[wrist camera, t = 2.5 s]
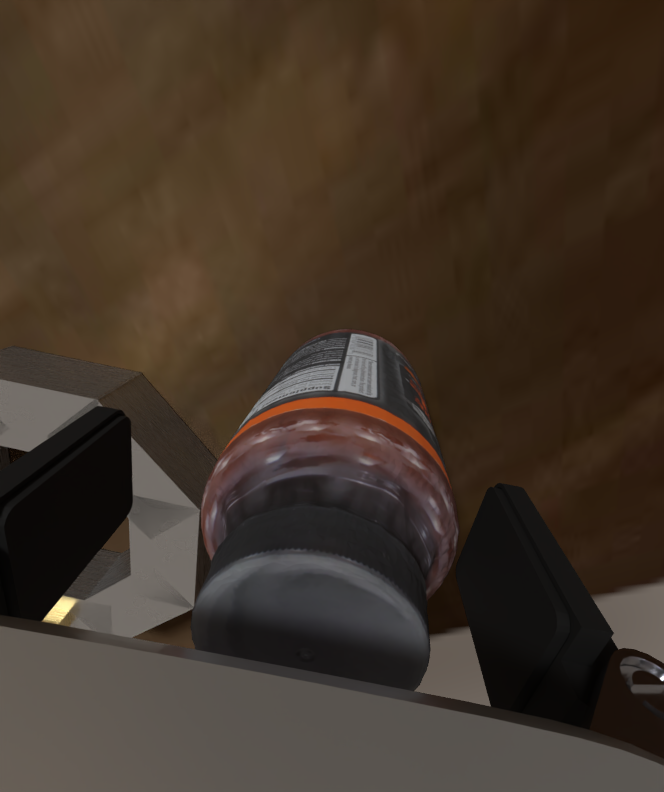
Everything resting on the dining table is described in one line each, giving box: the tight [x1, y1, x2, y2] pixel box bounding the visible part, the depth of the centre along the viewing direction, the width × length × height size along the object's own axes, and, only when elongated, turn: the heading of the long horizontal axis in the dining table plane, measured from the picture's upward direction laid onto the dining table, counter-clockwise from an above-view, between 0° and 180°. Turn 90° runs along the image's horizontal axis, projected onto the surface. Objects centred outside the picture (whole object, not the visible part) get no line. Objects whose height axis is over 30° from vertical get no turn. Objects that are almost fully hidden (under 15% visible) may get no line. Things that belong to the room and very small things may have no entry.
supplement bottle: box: [191, 329, 459, 691], centre depth 12 cm, size 6×6×11 cm
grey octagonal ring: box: [0, 346, 217, 638], centre depth 19 cm, size 14×14×4 cm
